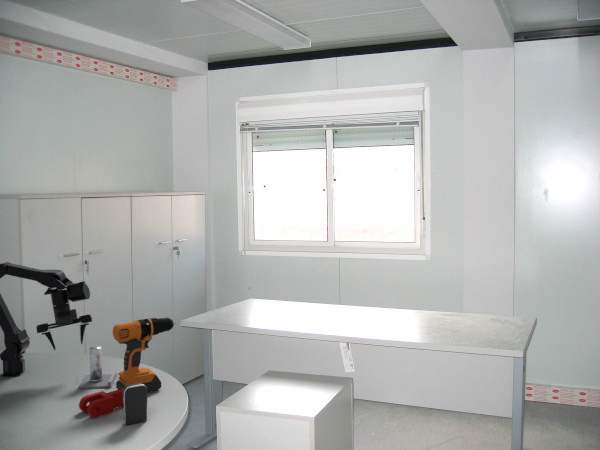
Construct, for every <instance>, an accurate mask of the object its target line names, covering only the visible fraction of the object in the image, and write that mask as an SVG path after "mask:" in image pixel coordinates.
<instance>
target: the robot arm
mask: <svg viewBox="0 0 600 450" xmlns="http://www.w3.org/2000/svg"><path fill="white" fill-rule="evenodd" d="M6 275H7V276H12V277H15V278H16V277H17V278H21V279H25V280H30V281H35V282H37V283H39V284H40V285H42V286H45V287H46V288H47V289H46V291H45V292H44V294H43V295H45V296H46V295H50V299H51V304H52V311H53V315H54V316H53V317H54V323H50V324H49V323H48V322H45V323H41V324H37V325H36V327H35V328H36V333H37V334H40V333H41V335H45V337H46V338H47V339H48V341H49V343H50V344H51V347H52V349H53V350H54V351H56V345H55V342H54V339H53V336H52V333H51V331H50V330H52V329H56V328H57V329H58V328H60V327H61V328H62V327H65V326H69V325H75V324H79V339H80V345H83V343H84V342H83V341H84V335H85V330H86V327H87V326H89V325H90V323H91V322H93V317H92V315H91V314H89V313H87V314H83V315H79V316H78V314H77V310H76V308H74V309H71V304H70V301H71V302H72V303H76V302H81V301H86V300H89V299H90V296H91V291H90V288H89V286H88V285H87V284H86V281H85V280H81V281H79V282H73V281H72V280H71V279H70V278H68V277H67V276H66V274H65V272H64V271H63V270H61V269H39V268H35V267H29V266H26V265H19V264H17V263H16V264H15V263H11V262H10V261H5V262H2V263H0V279H2V278H3V277H5V276H6ZM0 329H1V331H2V332H3V337H4V338H3V343H4V346H5V347H4V348H5V349H4V350H3V351H2V352H1V353H0V360H1V361H2V374H0V375H1V377H9V376H13V377H15V376H22V374H23V373H24V372H25V371H26V360H25V359H24V355H23V354H25V353H26V350H27V349H28V348H29V347H30V344H31V342H30V340H31V337H30V336H29V334H28V332H27V330H26V328H25V329H22V330H21V329H20V327H18V325H17V324H16V322H15V320H14V318H13V316H12V313H11V312H10V310H9V308H8V306H7V304H6V302H5V300H4V298H3V296H2V293H0Z"/></svg>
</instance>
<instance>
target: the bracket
mask: <svg viewBox="0 0 600 450" xmlns="http://www.w3.org/2000/svg"><path fill="white" fill-rule="evenodd" d="M117 376H118V371H117V370H113V372H112V373H109V374H102V377H103V380H102V381H101V382H96V383H93V382H90V374H85V375H84V377H83V379H82V381H81V382H80V383H79V385H78V387H77V389H78V390H79V389H81V390H82V389H105V388H106V389H107V388H108V389H109V388H112V386H113V385H114V382H115V381H116V379H117V378H118V377H117Z"/></svg>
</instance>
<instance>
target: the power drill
mask: <svg viewBox="0 0 600 450" xmlns="http://www.w3.org/2000/svg"><path fill="white" fill-rule="evenodd" d="M173 320H174V319H172V318H170V317H163V318H162V317H160V318H157V317H153V318H151V317H150V318H144V319H136V320H132V321H129V322H124V323H119V324H115V325H114V326H113V327H112V336H113V339H114V340H116V342H117V343H118V344H120V345H122V344H124V345H126V349H125V352H124V357H123V370H122V371H119V372H117V376H118V380H117V381H116V382H115V388H116V390H119V389H123V388H124V387H125V386H127V385H131V384H136V383H142V384H143V385H145V386H146V388H147V394H150V393H154V392H158V391H159V390H160V389H161V388H162V381H161V380H160V378H159V376H158V375H157V374H156V372H154V371H153V370H152V369H150V368H149V367H147V368H146V367H142V368H141V367H140V364H141V361H142V360H141V358H142V352H143V351H145V350H146V349H149V348H150V347H149V342H151V341H152V340H153V336H156V335H159V334H161V333H164V332H170V331H171V330H172V329H173V328H174V325H175V324H176V321H173ZM149 392H150V393H149Z"/></svg>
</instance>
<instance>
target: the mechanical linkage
mask: <svg viewBox="0 0 600 450" xmlns="http://www.w3.org/2000/svg"><path fill="white" fill-rule="evenodd" d="M122 391H123V389H119V390H118V389H116V390H113V391H109V392H105V391H104V390H101V391H99V392H95V393H91V394H87V395H85V396H83V397H81V399H80V400H79V404H78V408H79V409H80V411H82V412H84V413H86V414H88V415H89V416H90V417H92V418H94V419H96V418H99V417H103V416H105V415H108V414H112V413H115V409H118V408H121V407H124V404H123V403H122ZM117 407H118V408H117Z"/></svg>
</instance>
